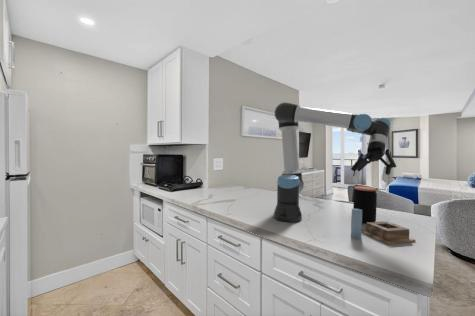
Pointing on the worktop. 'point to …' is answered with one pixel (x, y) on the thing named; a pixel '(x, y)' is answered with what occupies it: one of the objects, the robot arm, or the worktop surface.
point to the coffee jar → (366, 202)
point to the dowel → (356, 223)
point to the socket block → (387, 232)
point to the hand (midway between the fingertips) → (368, 181)
